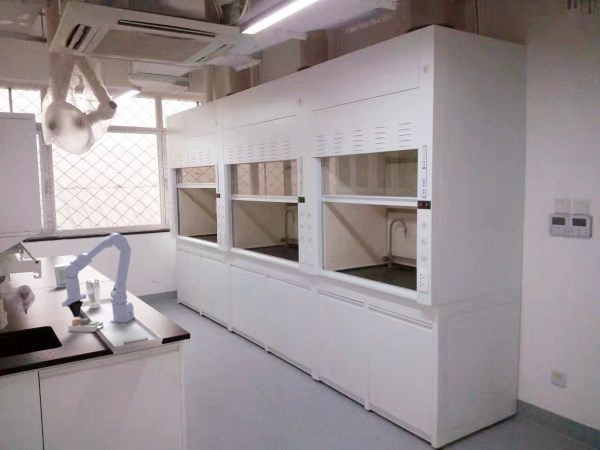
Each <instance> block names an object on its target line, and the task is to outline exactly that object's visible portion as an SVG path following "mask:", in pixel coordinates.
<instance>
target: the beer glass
mask: <svg viewBox="0 0 600 450" xmlns="http://www.w3.org/2000/svg"><path fill="white" fill-rule="evenodd" d="M100 287H101V286H100V282H99V279H89V280H86V281H85V289H86V293H87V294H86V296H87V298H88V302H89V306H88V308H89V309H90V308H94V309H99V308H101V307H102V304H101V301H100V294H101V288H100ZM98 307H99V308H98Z"/></svg>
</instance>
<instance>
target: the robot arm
mask: <svg viewBox="0 0 600 450" xmlns="http://www.w3.org/2000/svg"><path fill="white" fill-rule="evenodd" d="M113 246H114V247H115V248H116V249H117V250H118V251H119V252H120V253H119V259H118V266H117V271H116V272H117V273H116V277H115V278H116V279H115V283H114V285H113V289H112V290H111V292H110V297H111V298H112V299H113V300H112V302H111V307H112V316H113V317H112V318H113V319H111V320H110V321H109V322H110V323H112V322H113V323H127V322H130V321H131V320H133V319H135V318H136V316H135V313H134V312H135V311H134V305H133V303H132V302H128V300H127V299H128V295H127V284H126V283H127V279H128V273H129V268H130V267H129V266H130V261H131V256H132V247H130V244H129V241H128V240H127V238H126V237H125V236H124V235H123V234H120V233H119V232H111V233H110V234H109V235H107V236H104V238H103V239H101V241H99V242H98V243H97V244H96V245H95V246H94V247H92V249H90V250H89V251H88V252H87V253H86V252H84V253H80V254H78V257H77V258H75V259H74V260H73V261H70V262H69V265H67V266H66V267H65V268H64V273H65V275H66V277H65V279H66V287H65V289H66V297H67V298H66V299H65V300H64V301H63V302H61V306H62V307H63V308H65V307H68V309H69V310H70V312H71V313H72V316H73V318H80V314H81V313H80V312H81V308H82V305H83V304H84V303H83V300H84V299H87V294H86V293H85V294H83V293H82V294H81V288H80V279H79V276H78V275H79V273H80V272H81V271H83V270H84V269H85V268H86V267H88V265H90V264H91V263H92V262H93V261H92V259H93V258H94V257H95V256H97V255H98V254H99V253H101V252H102V251H103V250H105V249H107V248H113Z"/></svg>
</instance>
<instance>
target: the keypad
mask: <svg viewBox="0 0 600 450" xmlns="http://www.w3.org/2000/svg"><path fill="white" fill-rule="evenodd" d="M91 322H92V321H91V320H90V323H91ZM97 322H98V324H96V325H89V324H88V325H81V324H79V325H73V324H72V323H71V324H69V325H67V330H68V332H89V333H90V332H91V333H92V332H96V331H97V330H96V329H97V326H102V325H103V326H104V322H103V321H97Z"/></svg>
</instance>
